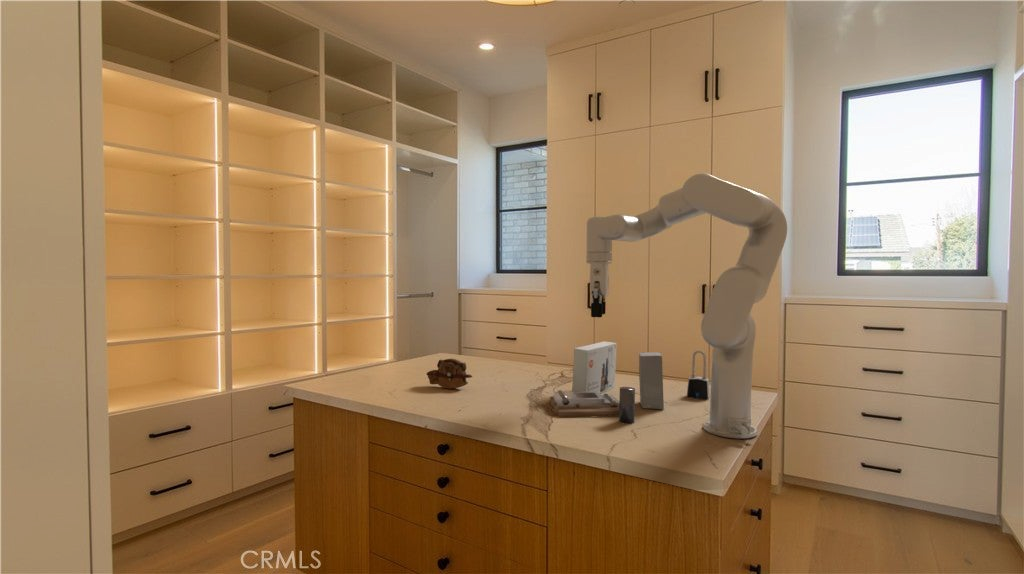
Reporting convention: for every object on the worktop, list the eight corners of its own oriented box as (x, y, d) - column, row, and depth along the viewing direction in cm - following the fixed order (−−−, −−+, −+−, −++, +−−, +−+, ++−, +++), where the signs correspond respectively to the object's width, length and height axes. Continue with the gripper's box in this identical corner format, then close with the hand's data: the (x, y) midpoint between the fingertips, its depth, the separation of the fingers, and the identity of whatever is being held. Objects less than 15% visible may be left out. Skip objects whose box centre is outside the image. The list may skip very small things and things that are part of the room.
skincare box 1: (586, 401, 157) (587, 350, 156) (571, 398, 160) (571, 348, 160) (616, 388, 174) (617, 342, 173) (602, 385, 177) (602, 340, 177)
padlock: (710, 397, 163) (711, 350, 162) (708, 400, 159) (709, 352, 159) (688, 394, 166) (689, 348, 166) (686, 397, 163) (687, 350, 162)
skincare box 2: (664, 410, 147) (665, 356, 147) (638, 408, 149) (639, 355, 148) (661, 402, 156) (662, 351, 155) (637, 401, 157) (638, 350, 156)
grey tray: (621, 408, 145) (621, 397, 145) (558, 409, 143) (558, 398, 143) (612, 400, 154) (612, 389, 154) (553, 400, 152) (553, 390, 152)
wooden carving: (423, 388, 171) (423, 358, 171) (429, 385, 176) (430, 356, 175) (469, 392, 167) (469, 361, 166) (474, 389, 171) (474, 359, 171)
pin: (636, 423, 135) (637, 390, 134) (621, 424, 134) (622, 390, 134) (631, 419, 139) (632, 386, 138) (617, 419, 138) (617, 386, 138)
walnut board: (626, 416, 142) (626, 410, 141) (558, 417, 140) (559, 411, 140) (610, 400, 157) (610, 395, 157) (549, 401, 156) (549, 396, 156)
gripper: (609, 258, 143) (608, 318, 143) (614, 259, 159) (613, 313, 160) (582, 258, 145) (581, 318, 146) (590, 259, 161) (589, 312, 162)
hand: (598, 315), depth 153 cm, fingers open, 9 cm apart
